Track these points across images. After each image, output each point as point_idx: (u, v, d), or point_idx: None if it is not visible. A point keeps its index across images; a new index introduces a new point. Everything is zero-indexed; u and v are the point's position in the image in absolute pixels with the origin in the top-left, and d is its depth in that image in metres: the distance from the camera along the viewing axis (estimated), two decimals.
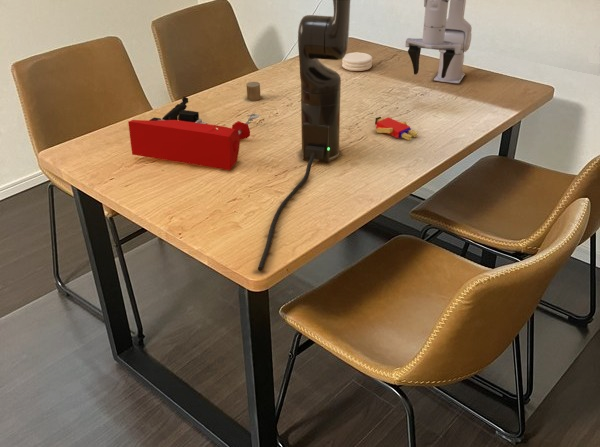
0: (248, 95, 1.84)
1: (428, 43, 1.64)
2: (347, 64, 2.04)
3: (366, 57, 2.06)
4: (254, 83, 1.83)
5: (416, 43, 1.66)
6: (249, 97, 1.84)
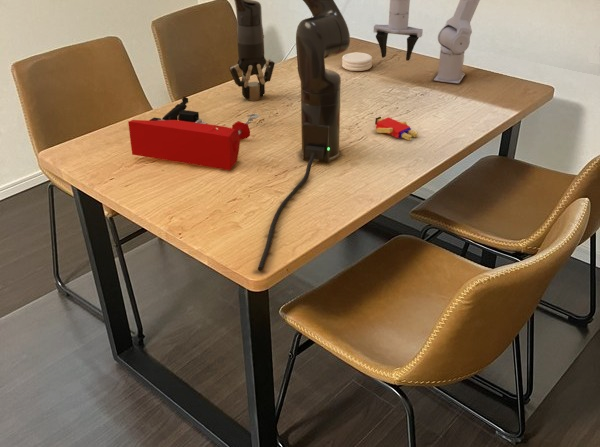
0: None
1: (393, 28, 1.82)
2: (347, 64, 2.04)
3: (366, 57, 2.06)
4: (254, 83, 1.83)
5: (383, 29, 1.84)
6: (249, 97, 1.84)
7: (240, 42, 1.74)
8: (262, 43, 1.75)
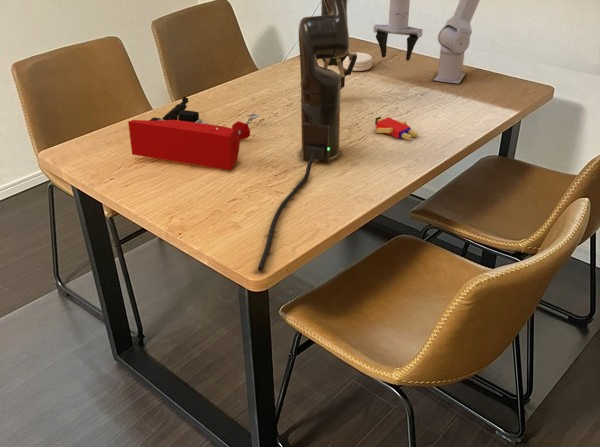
0: None
1: (393, 28, 1.82)
2: (347, 64, 2.04)
3: (366, 57, 2.06)
4: None
5: (383, 29, 1.84)
6: None
7: None
8: None
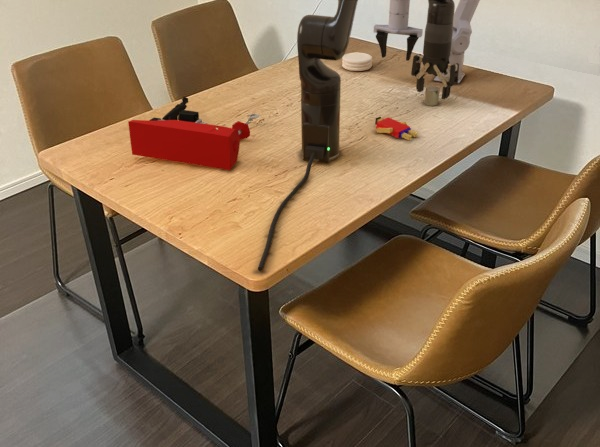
0: None
1: (393, 28, 1.82)
2: (347, 64, 2.04)
3: (366, 57, 2.06)
4: (433, 89, 1.78)
5: (383, 29, 1.84)
6: None
7: None
8: (439, 45, 1.68)
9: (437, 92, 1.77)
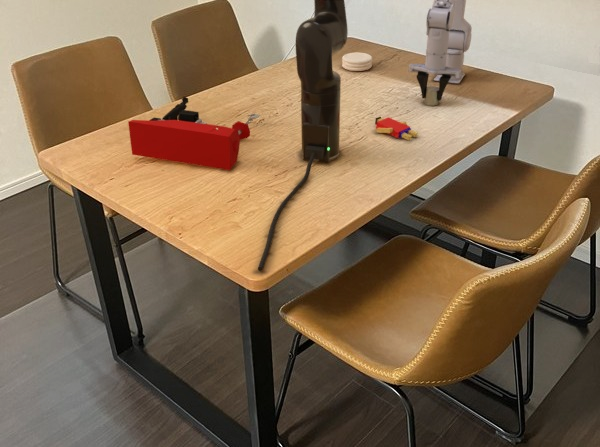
0: None
1: (430, 69, 1.73)
2: (347, 64, 2.04)
3: (366, 57, 2.06)
4: (433, 89, 1.78)
5: (419, 69, 1.75)
6: None
7: None
8: None
9: (437, 92, 1.77)
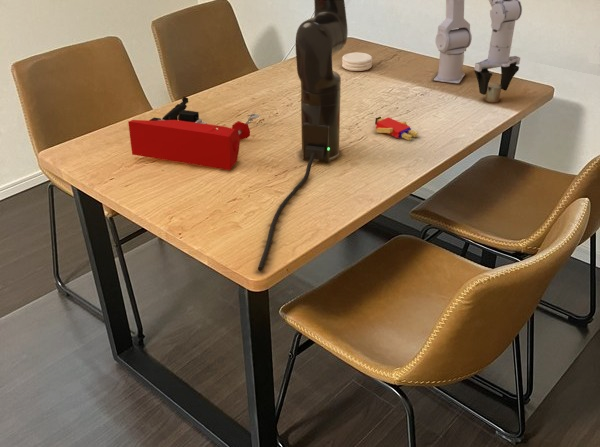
0: (486, 96, 1.80)
1: (503, 62, 1.73)
2: (347, 64, 2.04)
3: (366, 57, 2.06)
4: (495, 85, 1.79)
5: (490, 65, 1.73)
6: (487, 98, 1.80)
7: None
8: None
9: None
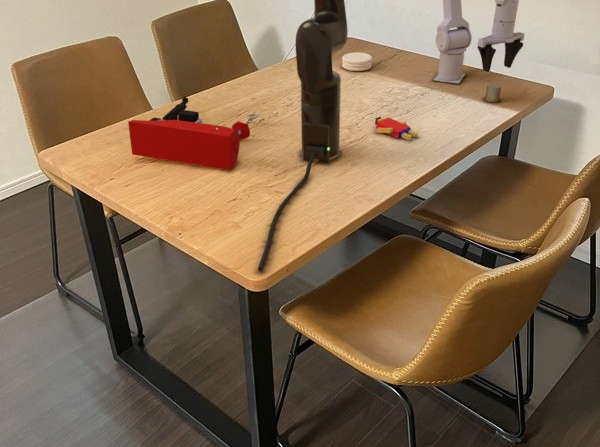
0: (486, 96, 1.80)
1: (507, 38, 1.69)
2: (347, 64, 2.04)
3: (366, 57, 2.06)
4: (495, 85, 1.79)
5: (494, 41, 1.69)
6: (487, 98, 1.80)
7: None
8: None
9: None
